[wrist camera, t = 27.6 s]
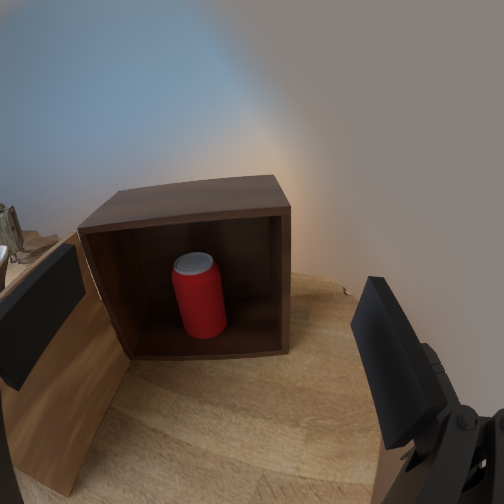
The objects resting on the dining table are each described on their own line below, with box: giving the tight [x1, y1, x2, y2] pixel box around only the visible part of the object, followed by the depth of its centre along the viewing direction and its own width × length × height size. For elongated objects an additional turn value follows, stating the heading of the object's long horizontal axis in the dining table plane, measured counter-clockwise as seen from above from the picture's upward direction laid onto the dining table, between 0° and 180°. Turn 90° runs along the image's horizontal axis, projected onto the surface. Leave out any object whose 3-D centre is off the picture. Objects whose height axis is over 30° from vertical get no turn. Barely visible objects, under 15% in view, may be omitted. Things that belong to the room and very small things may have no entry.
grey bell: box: [0, 203, 24, 264], centre depth 65 cm, size 14×9×25 cm, turn 36°
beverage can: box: [171, 252, 227, 339], centre depth 41 cm, size 7×7×12 cm
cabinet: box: [77, 175, 291, 361], centre depth 40 cm, size 14×24×22 cm, turn 93°
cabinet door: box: [0, 232, 130, 497], centre depth 22 cm, size 6×24×22 cm, turn 173°
